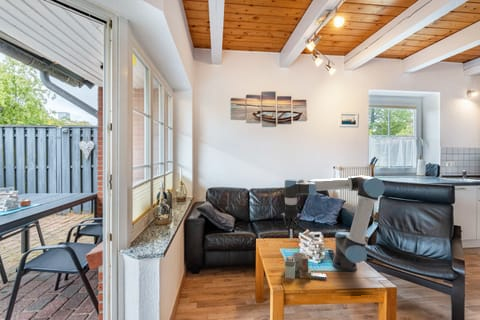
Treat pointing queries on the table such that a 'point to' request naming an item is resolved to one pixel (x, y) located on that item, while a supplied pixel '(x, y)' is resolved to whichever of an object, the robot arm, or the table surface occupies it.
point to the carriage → (305, 268)
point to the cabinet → (289, 268)
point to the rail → (313, 275)
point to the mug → (298, 260)
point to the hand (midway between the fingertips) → (291, 239)
